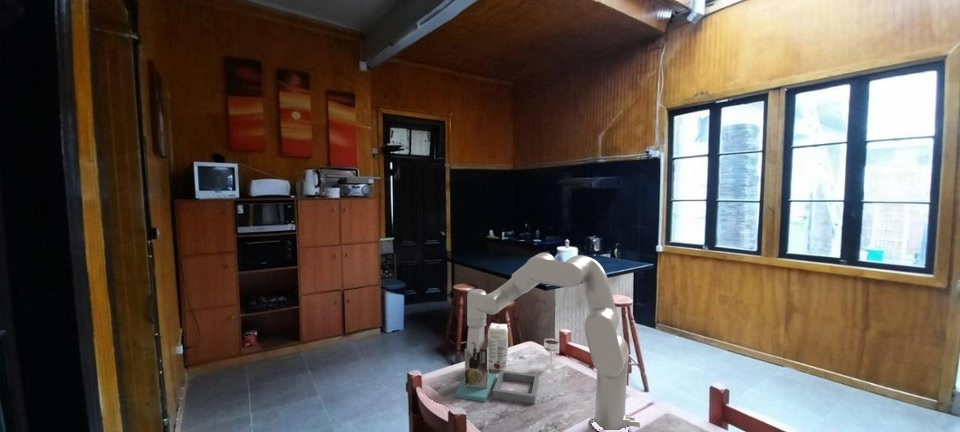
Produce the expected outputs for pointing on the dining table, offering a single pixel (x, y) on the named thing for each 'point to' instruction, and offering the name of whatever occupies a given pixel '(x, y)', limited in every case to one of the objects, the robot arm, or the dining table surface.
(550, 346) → the wineglass
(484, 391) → the board
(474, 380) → the cookie box
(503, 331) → the juice carton
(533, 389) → the holder
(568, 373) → the dining table surface
